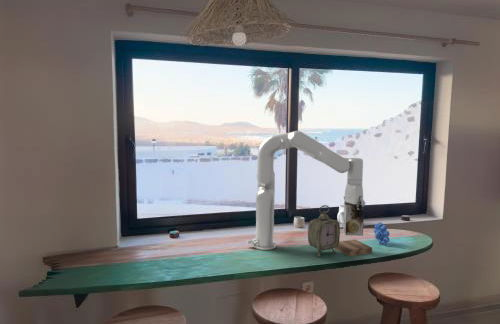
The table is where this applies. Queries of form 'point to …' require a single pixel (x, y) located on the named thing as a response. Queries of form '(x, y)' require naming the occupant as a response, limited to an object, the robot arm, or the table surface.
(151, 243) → the table surface
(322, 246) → the tabletop clock
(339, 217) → the mug
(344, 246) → the walnut shelf
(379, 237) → the grapes
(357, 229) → the coffee box
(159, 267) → the table surface
